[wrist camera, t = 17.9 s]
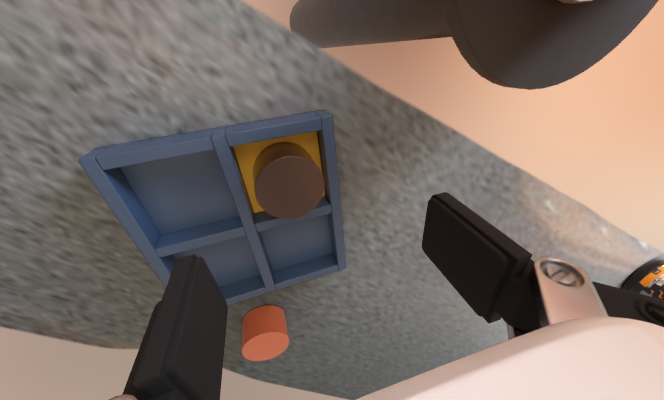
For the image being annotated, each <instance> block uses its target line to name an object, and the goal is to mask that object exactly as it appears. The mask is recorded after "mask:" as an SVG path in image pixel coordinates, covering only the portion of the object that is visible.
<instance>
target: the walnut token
mask: <svg viewBox="0 0 664 400" xmlns="http://www.w3.org/2000/svg"><path fill="white" fill-rule="evenodd" d="M253 177H254V189H255V196H256V199H257V202H258V203H259V205H260V206H261V208H262V209H263V210H264V211H266V212H267V213H268V214H270V215H272V216H275V217H278V218H283V219H291V218H297V217H300V216H303V215H305V214H307V213H309V212H310V211H311V210H313V209H314V208H315V207H316V206H317V205H318V203H319V202H320V200H321V198H322V196H323V193H324V187H325V183H324V177H323V175H322V173H321V171H320V169H319V168H318V166H317V165H316V163H315V162H314V160H313V159H312V157H311V156H310V154H309V153H308V152H307V151H306V150H305V149H304V148H303V147H301V146H300V145H298V144H295V143H291V142H278V143H274V144H271V145H269V146H268V147H266V148H265V149H263V150H262V151H261V152H260V153H259V155H258V156H257V158H256V160H255V162H254V166H253Z"/></svg>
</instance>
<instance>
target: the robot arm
mask: <svg viewBox="0 0 664 400" xmlns="http://www.w3.org/2000/svg"><path fill="white" fill-rule="evenodd" d="M558 1H560V2H562V3H571V4H575V3H581V2H587V1H592V0H558ZM422 248H423V251H424V252H425V254H426V255H427V256H428V257H429V258H430V260H431V261H432V262H433V263H434V264H435V265H436V267H437V268H438V269H439V270H440V271H441V273H442V274H443V275H444V276H445V277H446V278H447V280H448V281H449V282H450V283H451V284H452V285H453V287H454V288H455V289H456V290H457V291H458V293H459V294H460V295H461V296H462V297H463V298H464V300H465V301H466V302H467V303H468V304H469V305H470V307H471V308H472V309H473V310H474V311H475V312H476V313H477V314H478V315H479V316H481V317H482V316H483V318H484V319H485V320H486V321H487V322H488V323H491V322H494V321H497V320H500V319H501V317H502V318H503V319H504V320H505V322H506V323H507V330H508V338H509V340H507V341H505V342H502V343H499V344H497V345H494V346H492V347H489V348H486V349H484V350H481V351H479V352H476V353H473V354H471V355H468V356H466V357H463V358H460V359H458V360H455V361H453V362H450V363H447V364H445V365H442V366H440V367H437V368H435V369H432V370H430V371H427V372H424V373H422V374H419V375H417V376H414V377H412V378H409V379H406V380H404V381H401V382H399V383H396V384H394V385H391V386H389V387H386V388H383V389H381V390H378V391H376V392H373V393H371V394H368V395H366V396H363V397H360V398H358V399H355V400H664V301H663V300H660V299H657V298H654V297H651V296H647V295H643V294H639V293H635V292H631V291H627V290H624V289H620V288H616V287H612V286H608V285H604V284H600V283H597V282H593V281H591V279H590V277H589V276H588V274H587V273H586V272H585V271H583V270H582V269H581V268H580V267H578V266H577V265H575V264H573V263H571V262H569V261H566V260H564V259H560V258H557V257H549V256H547V257H540V258H538V259H537V260H536V261H535V262H534V261H532V260H531V259H530V258H531V256H532V254H530V253H529V252H528V251H526V250H525V249H524V248H522V247H521V246H520V245H518V244H517V243H515V242H514V241H513V240H511V239H510V238H509V237H507V236H506V235H505V234H503V233H502V232H500V231H499V230H498V229H496V228H495V227H494V226H492V225H491V224H490V223H488V222H487V221H485V220H484V219H483V218H481V217H480V216H479V215H477V214H476V213H475V212H473V211H472V210H470V209H469V208H468V207H466V206H465V205H464V204H462V203H461V202H460V201H458V200H457V199H455V198H454V197H453V196H451V195H450V194H449V193H446V192H444V193H440V194H436V195H433V196H432V197H431V199H430V200H429V201H428V206H427V213H426V220H425V227H424V233H423V240H422ZM227 310H228V308H227V302H226V300H225V298H224V296H223V294H222V292H221V290H220V288H219V287H218V285H217V283H216V281H215V279H214V277H213V275H212V273H211V272H210V270H209V268H208V266H207V264H206V262H205V260H204V259H203V257H197V255H195V254H193V255H189V256H185V257H181V258H178V259H176V261H175V264H174V267H173V270H172V273H171V275H170V278H169V281H168V284H167V287H166V290H165V292H164V295H163V298H162V301H159V302H158V303H157V304H156V306H155V308H154V311H153V313H152V316H151V319H150V321H149V324H148V327H147V330H146V332H145V335H144V338H143V340H142V343H141V346H140V348H139V351H138V354H137V357H136V359H135V362H134V365H133V367H132V371H131V373H130V375H129V378H128V381H127V384H126V386H125V389H124V392H123V394H122V395H120V396H115V397H113V398H111V399H110V400H220V389H221V378H222V367H223V356H224V344H225V333H226V322H227Z"/></svg>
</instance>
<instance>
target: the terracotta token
mask: <svg viewBox="0 0 664 400" xmlns="http://www.w3.org/2000/svg"><path fill="white" fill-rule="evenodd" d="M288 345H289V336H288V330H287V323H286V317H285V312H284V311H283V310H282V309H281V308H280V307H278V306H273V305H265V306H260V307H257V308H255V309H253V310H251V311H250V312H248V313H247V314H246V315H245V317H244V318H243V320H242V354H243V356H244V357H245V358H246V359H248V360H251V361H264V360H268V359H271V358H274V357H276V356H278V355H279V354H281V353H282V352H283V351H284V350H285V349H286V348H287V347H288Z"/></svg>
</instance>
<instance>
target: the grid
mask: <svg viewBox="0 0 664 400" xmlns="http://www.w3.org/2000/svg"><path fill="white" fill-rule="evenodd" d="M278 142H291V143H295V144H298V145H300V146H301V147H303V148H304V149H305V150H306V151H307V152H308V153H309V154H310V156H311V157H312V159H313V160H314V162H315V163H316V165H317V166H318V168H319V169H320V171H321V173H322V175H323V177H324V183H325V187H324V193H323V196H322V198H321V200H320V202H319V203H318V205H317V206H316V207H315V208H314V209H313V210H311V211H310V212H309V213H307V214H305V215H303V216H300V217H297V218H291V219H283V218H278V217H275V216H272V215H270V214H268V213H267V212H266V211H264V210H263V209H262V208H261V206H260V205H259V203H258V202H257V199H256V196H255V189H254V177H253V166H254V162H255V160H256V158H257V156H258V155H259V153H260V152H261V151H262V150H263V149H265V148H266V147H268V146H269V145H271V144H274V143H278ZM78 162H79V163H80V165H81V166H82V168H83V169H84V171H85V172H86V173H87V175H88V176H89V178H90V179H91V181H92V182H93V183H94V185H95V186H96V188H97V189H98V191H99V192H100V194H101V195H102V196H103V198H104V199H105V201H106V202H107V204H108V205H109V207H110V208H111V209H112V211H113V212H114V214H115V215H116V217H117V218H118V219H119V221H120V222H121V224H122V225H123V227H124V228H125V230H126V231H127V232H128V234H129V235H130V237H131V238H132V240H133V241H134V243H135V244H136V245H137V247H138V248H139V250H140V251H141V253H142V254H143V255H144V257H145V258H146V260H147V261H148V263H149V264H150V266H151V267H152V268H153V270H154V271H155V273H156V274H157V276H158V277H159V279H160V280H161V281H162V283H163V284H164V286H165V287H167V284H168V281H169V278H170V275H171V273H172V270H173V267H174V264H175V261H176V259H178V258H181V257H185V256H189V255H193V254H195V255H197V257H203V259H204V260H205V262H206V264H207V266H208V268H209V270H210V272H211V273H212V275H213V277H214V279H215V281H216V283H217V285H218V287H219V288H220V290H221V292H222V294H223V296H224V298H225V300H226V302H227V306H228V305H231V304H234V303H237V302H241V301H244V300H247V299H250V298H253V297H257V296H260V295H263V294H266V293H269V292H272V291H276V290H279V289H282V288H285V287H289V286H292V285H295V284H298V283H301V282H305V281H308V280H311V279H314V278H317V277H321V276H324V275H327V274H330V273H333V272H337V271H338V270H339V271H340V270H343V269H346V257H345V246H344V235H343V224H342V213H341V203H340V192H339V181H338V170H337V159H336V149H335V138H334V127H333V116H332V115H331V114H329V113H328V112H326V111H325V110H320V111H314V112H308V113H302V114H296V115H290V116H284V117H278V118H272V119H266V120H260V121H254V122H249V123H243V124H237V125H231V126H225V127H219V128H213V129H207V130H201V131H195V132H189V133H183V134H177V135H172V136H166V137H160V138H154V139H148V140H142V141H136V142H130V143H124V144H118V145H112V146H106V147H100V148H96V149H94V150H93V151H91V152H90V153H88V154H87V155H85V156H83V157H82V158H80V159H79V160H78Z"/></svg>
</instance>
